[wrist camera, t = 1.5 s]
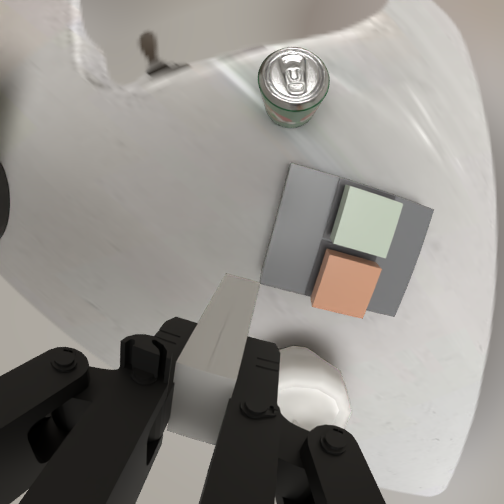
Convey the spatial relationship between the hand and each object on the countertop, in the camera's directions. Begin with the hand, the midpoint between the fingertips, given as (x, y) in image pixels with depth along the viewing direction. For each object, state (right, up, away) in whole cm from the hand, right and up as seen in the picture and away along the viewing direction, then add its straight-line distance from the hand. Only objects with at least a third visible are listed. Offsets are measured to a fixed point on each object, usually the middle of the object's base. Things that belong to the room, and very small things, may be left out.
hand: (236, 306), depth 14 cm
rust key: (+9, 0, +15) cm, 18 cm away
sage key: (+11, +5, +14) cm, 18 cm away
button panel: (+10, +4, +20) cm, 23 cm away
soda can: (+5, +17, +17) cm, 25 cm away
